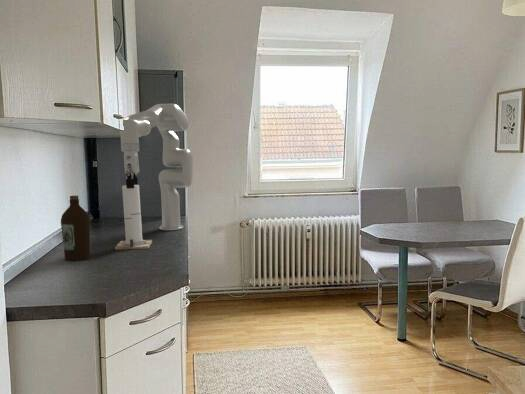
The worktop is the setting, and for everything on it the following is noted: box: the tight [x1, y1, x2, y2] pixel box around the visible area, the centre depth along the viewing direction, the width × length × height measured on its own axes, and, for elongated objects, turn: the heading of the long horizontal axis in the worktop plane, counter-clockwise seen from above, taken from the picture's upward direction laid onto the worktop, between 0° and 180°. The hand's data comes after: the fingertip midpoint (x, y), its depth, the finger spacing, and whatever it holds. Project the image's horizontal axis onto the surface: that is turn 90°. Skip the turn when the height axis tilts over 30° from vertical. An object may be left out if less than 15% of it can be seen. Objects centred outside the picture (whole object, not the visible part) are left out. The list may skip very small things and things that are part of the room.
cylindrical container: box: [121, 184, 144, 243], centre depth 205 cm, size 7×7×25 cm
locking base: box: [114, 239, 153, 251], centre depth 206 cm, size 14×14×4 cm
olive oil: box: [60, 195, 91, 262], centre depth 183 cm, size 11×11×25 cm
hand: (132, 186), depth 203 cm, fingers open, 9 cm apart
